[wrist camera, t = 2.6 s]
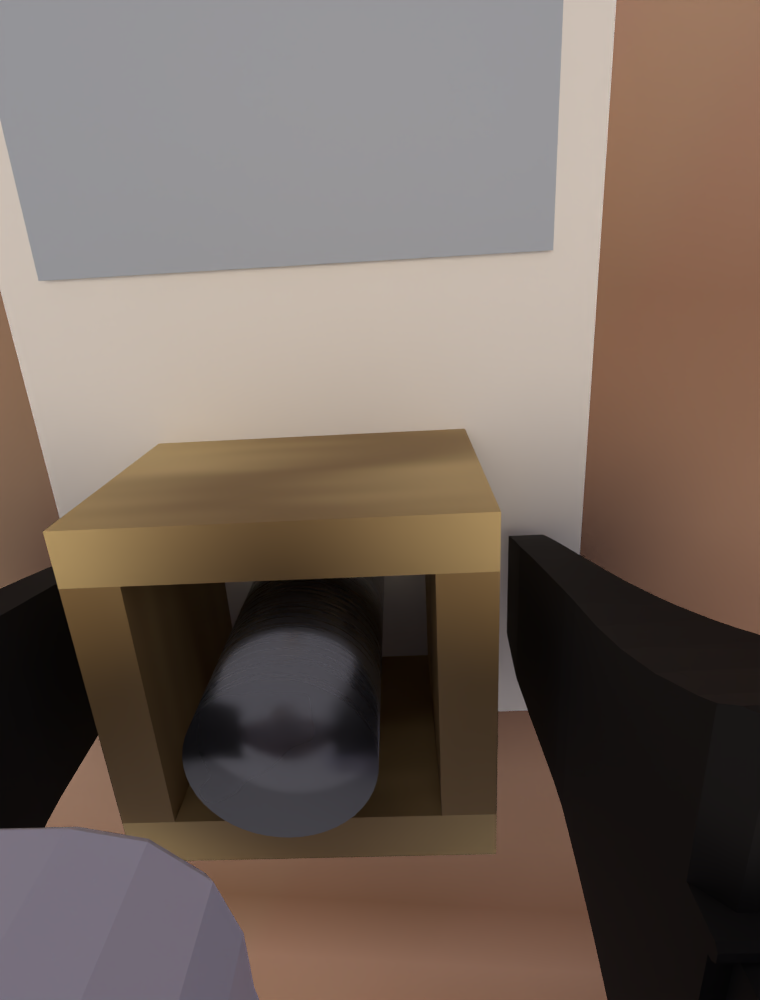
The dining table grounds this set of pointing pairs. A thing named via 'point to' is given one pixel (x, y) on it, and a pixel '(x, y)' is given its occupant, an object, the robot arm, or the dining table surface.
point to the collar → (290, 556)
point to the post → (293, 709)
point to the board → (310, 237)
